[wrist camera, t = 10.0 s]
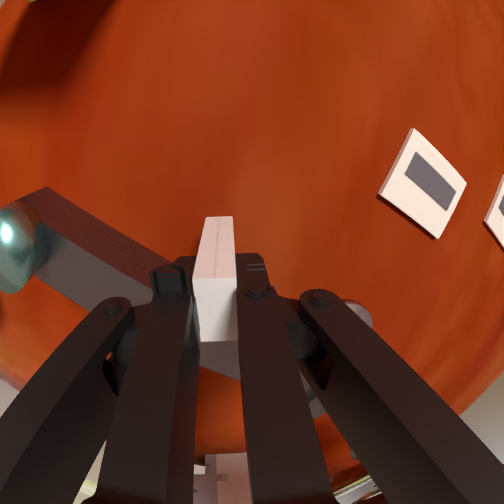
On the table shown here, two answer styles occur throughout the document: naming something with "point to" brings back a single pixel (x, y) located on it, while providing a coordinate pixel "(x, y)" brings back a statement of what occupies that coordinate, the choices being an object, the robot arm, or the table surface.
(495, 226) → the label plate
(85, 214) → the swing bar
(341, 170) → the table surface
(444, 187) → the label plate
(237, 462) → the circuit breaker
